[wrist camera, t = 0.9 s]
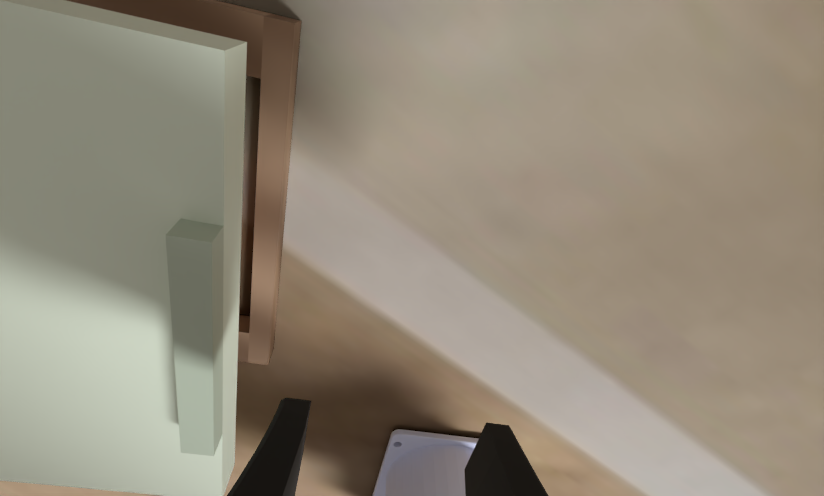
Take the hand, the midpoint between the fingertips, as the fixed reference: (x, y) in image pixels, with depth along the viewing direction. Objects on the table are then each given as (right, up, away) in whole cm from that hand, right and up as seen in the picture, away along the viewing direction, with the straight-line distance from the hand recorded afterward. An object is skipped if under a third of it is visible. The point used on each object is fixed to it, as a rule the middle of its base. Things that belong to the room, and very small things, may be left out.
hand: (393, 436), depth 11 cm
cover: (-10, +4, +2) cm, 11 cm away
